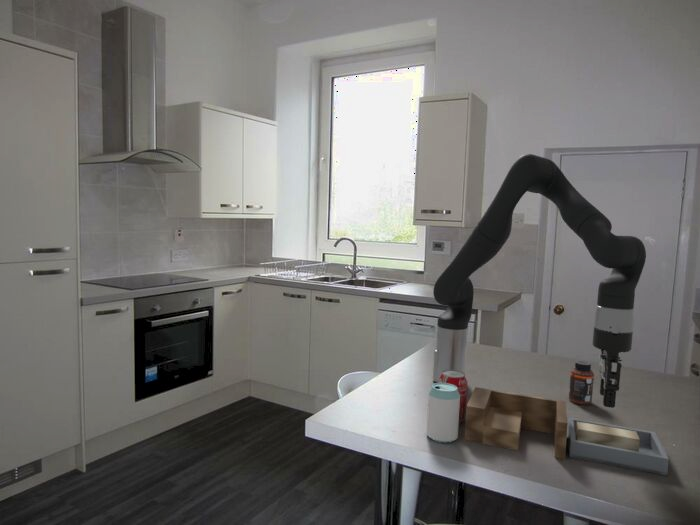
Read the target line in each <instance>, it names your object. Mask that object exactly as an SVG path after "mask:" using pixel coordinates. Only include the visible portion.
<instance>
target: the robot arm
mask: <svg viewBox="0 0 700 525" xmlns="http://www.w3.org/2000/svg"><path fill="white" fill-rule="evenodd" d="M528 192H529V193H533V194H540V195H541V196H543V197H544V198H546V199H548V200H550V201H551V202H552V203H553V204H554V205H555V206H556V207H557V208H558V211H559V214H560V216H561V219H562V221H563V222H564V223H565V224H566V225H567V227H568V228H569V229H570V230H572V232H574V233H575V234H576V236H577V237H579V238H580V239H581V240H582V241H583V244H584V246H585V248H586V249H587V251H588V253H589V254H590V256H591V258H592V259H593V260H594V261H595V262H596V263H597V264H598V265H600V266H602V267H604V268H606V269H612V270H611V273H610V275H609V276H608V277H607V278H604V279H602V280H600V282H599V285H598V290H597V292H598V293H597V300H596V301H597V302H596V308H595V309H596V310H595V314H594V321H593V322H594V323H593V332H592V346H593V347H594V348H596V349H598V350H600V353H599V356H598V357H599V366H598V368H599V370H598V371H599V378H600V384H599V385H600V387H599V394H600V395H601V396H603V400H602V405H603V406H604V407H605V408H612V409H613V408H615V407H616V397H617V392H619V390H620V381H621V369H622V364H623V362H622V361H623V360H622V359H621V356H619V354H620V353H630V351H631V350H632V344H633V333H634V323H635V318H634V316H635V315H634V308H635V298H636V297H635V296H636V295H635V294H636V288H637V286H638V283H639V281H640V278H641V276H642V273H643V270H644V266H645V264H646V259H647V250H646V247H645V244H644V242H643V241H642V240H641V239H640V238H639V237H636V236H633V235H616V234H614V233H613V232H612V229H613V228H612V226H613V224H612V222H611V221H610V219H609V218H608V217H607V216H606V215H605V214H604V213H602V212H601V211H600V210H599V209H598V208H597V207H596V206H594V205H593V204H592V203H590V202H589V200H587V199H586V198H585V197H584V196H583V194H581V193H580V192H579V191H578V190H577V189H576V188H575V187H574V186H573V184H572V183H571V182H570V181H569V179H568V178H567V176H566V175H565V174H564V173H563V171H562V170H561V169H560V167H559V166H558V165H557V164H556V163H555V162H554V160H551V159H549V158H547V157H542V156H540V155H535V154H531V153H526V154H522V155H520V156H519V157H518V158H517V159H516V160H515V161H514V162H513V164H512V165H511V167H510V168H509V170H508V172H507V174H506V176H505V177H504V180H503V182H502V184H501V185H500V187H499V189H498V190H497V192H496V195H495V197H494V198H493V200H492V201H491V203H490V204H489V206H488V207H487V209H486V211H485V212H484V214H483V216H482V217H481V218H480V219H479V221H478V222H477V224H476V225H475V227H474V228H473V230H472V232H471V233H470V235H469V236H468V238H467V240H466V241H465V243H464V244H463V245H462V247H461V248H460V249H459V251H458V252H457V254H456V255H455V257H454V259H453V260H452V261H451V262H450V264H449V265H448V266H447V267H446V268H445V270H444V271H443V272H442V273H441V274H440V275H439V277H438V278H437V280H436V281H435V283H434V287H433V292H432V293H433V297H434V300H435V302H436V303H437V304H440V306H447V308H445V311H444V312H443V313H441V314H440V315H439V316H438V317H437V327H436V328H437V329H436V346H435V347H436V349H435V350H434V354H433V369H432V370H433V373H432V374H433V376H432V382H436V383H439V378H440V376H441V375H442V371H444V370H458V371H461V372H463V373H465V374H466V366H467V365H466V364H467V362H466V361H467V348H468V333H469V332H468V331H469V330H468V329H469V323H470V320H471V317H472V314H473V312H472V311H473V306H474V304H473V303H474V293H475V292H474V284H473V281H472V280H471V279H470V277H471V275H473V273H474V274H475V272H476V271H478V270H479V269H480V268H481V267H483V266H484V265H485V264H487V263H488V262H490V261H491V260H492V259H493V258H495V256H496V255H497V254H498V253H499V252H500V251H501V249H502V248H503V247H504V245H505V244H506V243H507V241H508V239H509V237H510V236H511V232H512V226H513V216H514V211H515V209H516V206H517V205H518V204H519V202H520V201H521V199H522V197H524V195H525V194H526V193H528ZM613 381H614V383H613Z"/></svg>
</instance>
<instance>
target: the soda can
mask: <svg viewBox="0 0 700 525" xmlns="http://www.w3.org/2000/svg"><path fill="white" fill-rule="evenodd" d="M439 383H449V384H452V385H455V386H456V387H457V388H458V389H457V391H458V392H459V394H460V406H459V423H458V424H460V423H461V422H463V421H465V420H466V408H467V398H468V380H467V378H466V372H465V373H463V372H461V371H458V370H444V371H442V375H441V376H440V378H439Z"/></svg>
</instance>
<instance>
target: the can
mask: <svg viewBox="0 0 700 525" xmlns="http://www.w3.org/2000/svg"><path fill="white" fill-rule="evenodd" d="M457 389H458V388H457V387H456V386H455V385H452V384H449V383H438V382H436V383H432V384H431V388H430V390H429V391H428V400H427V419H426V435H427V437H429V438H430V439H431V438H432V439H434V440H436V441H435V442H437V441H440V442H439V443H441V442H449V443H451V442H450V441H452V442H454V441H455V440H457V439H458V437H459V424H460V423H459V406H460V394H459V392H458V391H457ZM432 439H431V440H432ZM434 440H433V441H434Z"/></svg>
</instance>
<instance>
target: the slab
mask: <svg viewBox="0 0 700 525" xmlns="http://www.w3.org/2000/svg"><path fill="white" fill-rule="evenodd" d="M576 440H578V441H583V442H589V443H594V444H600V445H605V446H611V447H616V448H621V449H627V450H632V451H638V452H639V443H640V439H639V437H638V434H637V432H636V431H630V430H624V429H619V428H613V427H607V426H601V425H595V424H589V423H583V422H577V426H576Z"/></svg>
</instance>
